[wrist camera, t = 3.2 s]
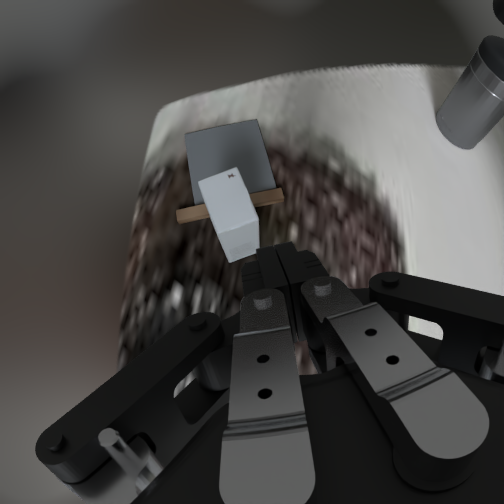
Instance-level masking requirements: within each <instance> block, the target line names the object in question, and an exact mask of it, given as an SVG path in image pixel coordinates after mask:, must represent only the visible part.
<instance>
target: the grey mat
mask: <svg viewBox="0 0 504 504" xmlns="http://www.w3.org/2000/svg"><path fill="white" fill-rule="evenodd" d="M185 142H186V149H187V156H188V163H189V170H190V176H191V183H192V189H193V196H194V202H195V206H197V205H201V204H205V202H204V199H203V197H202V194H201V190H200V187H199V184H198V181H201V180H203V179H206V178H208V177H211V176H214V175H216V174H219V173H222V172H224V171H227V170H229V169H232V168H235V167H237V168H238V170H239V172H240V175H241V177H242V179H243V182H244V184H245V186H246V188H247V190H248V193H249V194H252V193H257V192H262V191H267V190H272V189H276V185H275V181H274V178H273V174H272V171H271V167H270V164H269V160H268V157H267V153H266V150H265V146H264V143H263V139H262V136H261V133H260V129H259V126H258V122H257V119H256V120H251V121H245V122H240V123H235V124H230V125H225V126H220V127H215V128H211V129H206V130H202V131H197V132H193V133H189V134H185Z"/></svg>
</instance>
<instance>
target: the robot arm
mask: <svg viewBox="0 0 504 504" xmlns="http://www.w3.org/2000/svg"><path fill="white" fill-rule="evenodd" d="M493 10H494V13H495V15H496V17H497V18H498V20H499V21H501V23H502V24H503V25H504V0H493ZM503 116H504V39H503V38H500V37H497V36H487V37H485V38H484V39H483V41H482V42H481V44H480V46H479V47H478V49H477V51H476V53H475V54H474V56H473V57H472V59H471V61H470V62H469V64H468V66H467V67H466V69H465V70H464V72H463V74H462V75H461V77H460V78H459V80H458V82H457V83H456V85H455V86H454V88H453V89H452V91H451V92H450V94H449V96H448V97H447V99H446V100H445V102H444V103H443V105H442V106H441V108H440V109H439V111H438V112H437V115H436V120H437V124H438V126H439V129H440V130H441V132H442V133H443V135H444V136H445V137H446V138H447V139H448V140H449V141H450V142H451V143H453V144H454V145H456V146H458V147H460V148H462V149H472V148H474V147H475V146H476V145H477V144H478V143H479V142H480V141H481V140H482V139H483V138H484V137H485V136H486V135H487V134H488V133H489V132H490V130H491V129H492V128H493V127H494V126H495V125H496V124H497V123H498V122H499V120H500V119H501V118H502V117H503ZM274 248H275V249H274ZM256 254H257V258H258V260H257V261H252V262H247V263H245V264H244V266H243V267H242V269H241V275H242V283H243V292H244V298H243V299H242V301H241V310H240V311H239V312H238V313H236V314H235V315H233V316H231V317H229V318H227V319H224V320H222V321H221V320H220V318H219V316H218V315H216V314H214V313H211V312H201V313H196V314H193V315H191V316H188V317H187V318H185V319H184V320H182V321H181V322H180V323H178V324H177V325H176V326H175V327H174V328H172V329H171V330H170V331H169V332H167V333H166V334H165V335H164V336H162V337H161V338H160V339H159V340H157V341H156V342H155V343H154V344H152V345H151V346H150V347H149V348H148V349H146V350H145V351H144V352H143V353H141V354H140V355H139V356H138V357H136V358H135V359H134V360H133V361H131V362H130V363H129V364H128V365H126V366H125V367H124V368H123V369H121V370H120V371H119V372H118V373H116V374H115V375H114V376H113V377H111V378H110V379H109V380H108V381H106V382H105V383H104V384H103V385H101V386H100V387H99V388H98V389H96V390H95V391H94V392H93V393H91V394H90V395H89V396H88V397H86V398H85V399H84V400H83V401H82V402H80V403H79V404H78V405H76V406H75V407H74V408H72V409H71V410H70V411H69V412H67V413H66V414H65V415H64V416H62V417H61V418H60V419H59V420H57V421H56V422H55V423H54V424H52V425H51V426H50V427H48V428H47V429H46V430H45V431H44V432H43V433H42V434H41V435H40V437H39V438H38V440H37V443H36V448H35V451H36V455H37V457H38V459H39V460H40V461H41V462H42V463H43V464H44V465H45V466H46V467H47V468H48V469H49V470H50V471H51V472H52V473H54V474H55V475H56V477H57V479H58V480H60V481H61V482H62V483H63V484H64V485H65V486H66V487H67V488H69V489H70V490H71V491H72V492H74V493H75V494H76V495H77V496H78V497H80V498H81V499H82V500H83V501H84V502H85V503H86V504H504V296H501V295H496V294H492V293H487V292H483V291H479V290H474V289H470V288H466V287H461V286H457V285H452V284H448V283H443V282H439V281H435V280H430V279H426V278H421V277H417V276H412V275H408V274H403V273H398V272H383V273H379V274H377V275H375V276H373V277H372V278H371V279H370V281H369V288H361V289H349V288H348V287H347V286H346V285H345V284H344V283H343V282H342V281H341V280H340V279H339V278H336V277H333V276H330V275H329V274H328V272H327V271H326V269H325V268H324V266H323V265H322V263H321V262H320V260H319V259H318V258H317V256H316V255H315V253H312V252H310V251H308V250H304V251H299V252H298V251H297V250H296V248H295V246H294V244H293V243H292V241H291V242H286V243H281V244H276V245H274V247H273V245H272V246H267V247H262V248H258V249H256ZM409 316H413V317H417V318H420V319H424V320H427V321H431V322H434V323H437V324H438V325H439V326H440V327H441V328H442V330H443V339H442V340H439V339H435V338H432V337H429V336H425V335H422V334H419V333H415V332H412V331H409V330H408V323H409ZM296 333H297V336H298V339H299V341H304V340H307V342H308V348H309V355H310V358H311V360H312V362H313V364H314V366H315V368H316V370H317V372H318V374H313V375H299V374H298V368H297V362H296V356H295V346H294V343H296V342H297V336H296ZM192 370H193V372H194V374H195V377H196V378H195V379H194V380H193V381H192V382H191V383H190V384H189V385H188V386H187V387H186V388H184V389H183V390H182V391H181V392H180V393H179V394H178V395H177V396H176V397H175V398H174V390H175V388H176V386H177V384H178V383H179V382H180V381H181V380H183V379H184V378H185V377H186V376H187V375H188V374H189V373H190V372H191V371H192Z"/></svg>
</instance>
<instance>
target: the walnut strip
mask: <svg viewBox="0 0 504 504" xmlns="http://www.w3.org/2000/svg"><path fill="white" fill-rule="evenodd" d="M249 196H250V198H251V201H252V203H253V206H254V208H255V207H260V206H264V205H269V204H274V203H279V202H284V196H283V192H282V189H281V188H277V189H272V190H267V191H262V192H257V193H252V194H249ZM176 215H177V221H178V223H179V224H182V223H186V222H191V221H195V220H199V219H204V218H208V217H210V215H209V213H208V210H207V207H206V205H205V204H201V205H197V206H193V207H188V208H184V209H180V210H176Z"/></svg>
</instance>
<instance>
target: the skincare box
mask: <svg viewBox="0 0 504 504" xmlns="http://www.w3.org/2000/svg"><path fill="white" fill-rule="evenodd" d="M198 184H199V187H200V190H201V194H202V197H203V199H204V202H205V205H206V207H207V210H208V213H209V215H210V218H211V221H212V223H213V226H214V228H215V231H216V233H217V235H218V238H219V240H220V242H221V245H222V247H223V249H224V252H225V254H226V256H227V259H228V261H229V262H233V261H236V260H238V259H241V258H244V257H246V256H249V255H252V254H255V253H256V249H258V248H260V245H259V218H258V215H257V213H256V210H255V208H254V206H253V203H252V201H251V198H250V196H249V193H248V190H247V188H246V186H245V184H244V182H243V179H242V177H241V175H240V172H239V170H238V168H237V167H235V168H232V169H229V170H227V171H224V172H222V173H219V174H216V175H214V176H211V177H208V178H206V179H203V180H201V181H198Z"/></svg>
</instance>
